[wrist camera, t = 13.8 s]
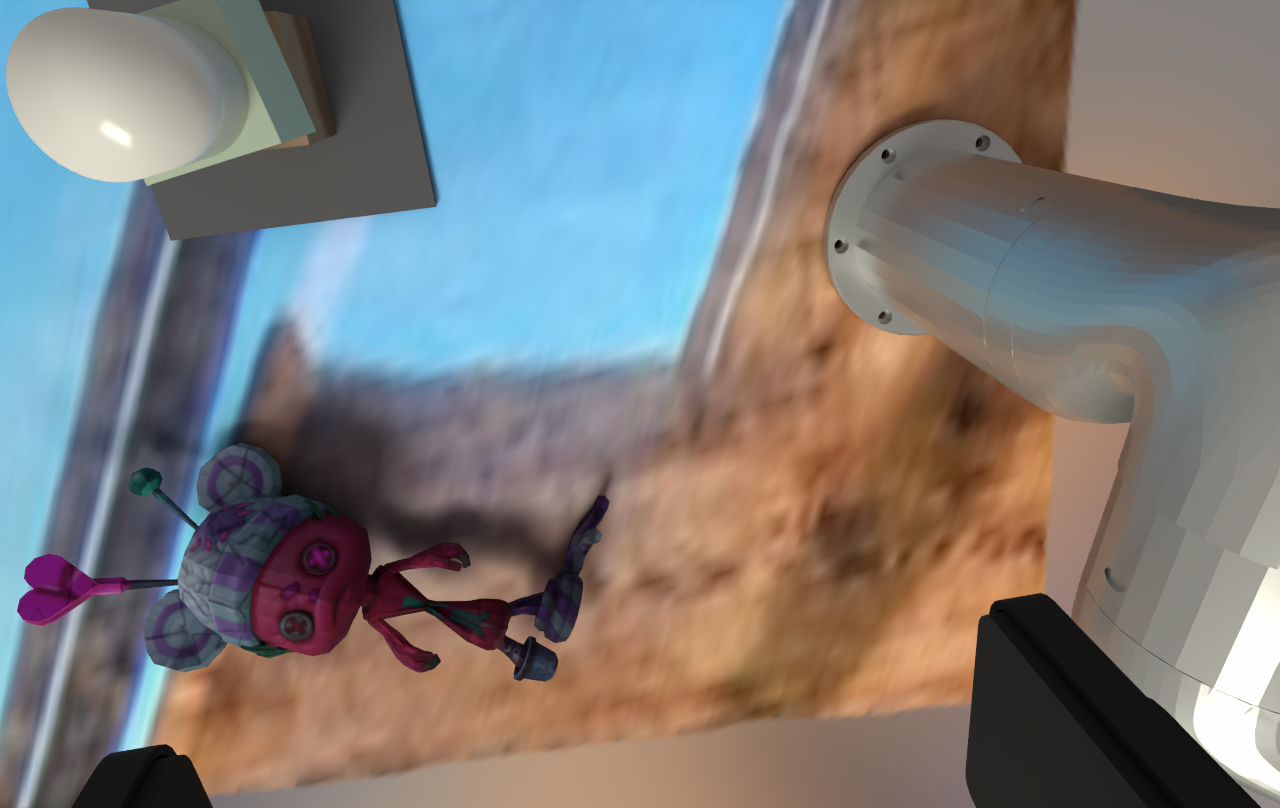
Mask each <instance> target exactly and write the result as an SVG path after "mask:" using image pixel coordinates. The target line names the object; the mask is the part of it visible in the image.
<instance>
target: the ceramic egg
mask: <svg viewBox="0 0 1280 808" xmlns="http://www.w3.org/2000/svg"><path fill="white" fill-rule="evenodd" d="M6 80H7V88H8V93H9V98H10V101H11V103H12V106H13V109H14V111H15V113H16V115H17V118H18V120H19V121H20V123H21V124H22V126H23V128H24V129H25V131H26V132H27V133H28V135H29V136H30V137H31V139H32V140H33V141H34V142H35V143H36V144H37V145H38V146H39V147H40V148H41V149H42V150H43V151H44V152H45V153H46V154H47V155H49V156H50V157H51V158H52V159H54V160H55V161H56V162H58V163H59V164H61V165H62V166H64V167H66V168H68V169H70V170H71V171H73V172H76V173H78V174H80V175H83V176H86V177H89V178H92V179H95V180H101V181H106V182H129V181H134V180H139V179H143V178H146V177H149V176H152V175H156V174H159V173H162V172H166V171H169V170H172V169H176V168H179V167H182V166H185V165H189V164H192V163H195V162H199V161H202V160H205V159H208V158H211V157H214V156H217V155H219V154H221V153H223V152H224V151H226V150H227V149H228V148H230V147H231V146H232V145H233V144H234V143H235V142H236V140H237V139H238V138H239V136H240V135H241V133H242V131H243V129H244V126H245V123H246V120H247V115H248V104H249V101H248V92H247V88H246V83H245V80H244V78H243V75H242V73H241V71H240V69H239V66H238V65H237V63H236V61H235V60H234V58H233V57H232V55H231V54H230V53H229V52H228V50H227V49H226V48H225V47H224V46H223V45H222V44H221V43H220V42H219V41H218V40H217V39H215V38H214V37H213V36H212V35H210V34H209V33H207V32H206V31H204V30H203V29H201V28H199V27H197V26H195V25H193V24H191V23H188V22H185V21H182V20H178V19H173V18H165V17H156V16H148V15H140V14H131V13H123V12H114V11H106V10H97V9H89V8H79V7H74V8H62V9H56V10H52V11H49V12H47V13H44V14H42V15H40V16H38V17H36V18H34V19H33V20H32V21H31V22H29V23H28V24H27V25H26V26H25V27H24V28H23V29H22V30H21V31H20V32H19V34H18V35H17V37H16V38H15V40H14V42H13V44H12V46H11V49H10V51H9V55H8V60H7V68H6Z"/></svg>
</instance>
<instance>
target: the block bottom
mask: <svg viewBox="0 0 1280 808" xmlns="http://www.w3.org/2000/svg"><path fill="white" fill-rule="evenodd" d="M264 13H265V16H266V18H267V20H268V23H269V25H270V27H271V29H272V32H273V34H274V36H275V38H276V41H277V43H278V45H279V48H280V50H281V52H282V54H283V57H284V59H285V61H286V64H287V66H288V68H289V70H290V73H291V75H292V77H293V79H294V82H295V84H296V86H297V89H298V91H299V93H300V95H301V98H302V100H303V102H304V104H305V107H306V109H307V111H308V114H309V116H310V118H311V120H312V123H313V125H314V127H315V130H316V132H314V133H311V134H308V135H305V136H302V137H299V138H296V139H292V140H289V141H286V142H283V143H280V144H277V145H274V146H271V147H268V148H265V149H261V150H258V151H262V150H271V149H279V148H287V147H295V146H304V145H310V144H313V143H315V142H318V141H321V140H323V139H326V138H329V137H331V136H334V135H336V131H335V127H334V123H333V119H332V115H331V111H330V107H329V103H328V99H327V95H326V91H325V87H324V83H323V79H322V75H321V71H320V67H319V63H318V59H317V55H316V51H315V47H314V43H313V39H312V35H311V31H310V27H309V23H308V19H307V17H303V16H298V15H293V14H288V13H283V12H278V11H267V12H264Z"/></svg>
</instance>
